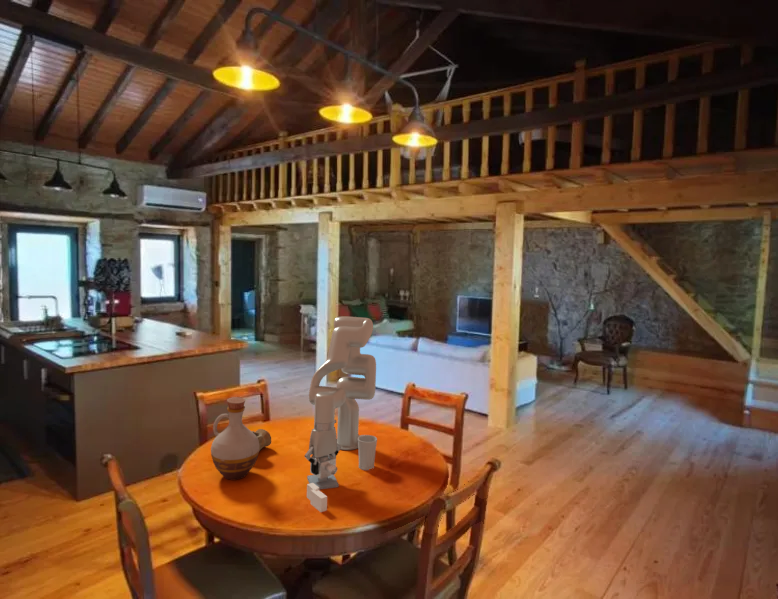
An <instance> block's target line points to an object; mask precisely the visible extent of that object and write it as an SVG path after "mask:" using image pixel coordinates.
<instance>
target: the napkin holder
mask: <svg viewBox="0 0 778 599" xmlns="http://www.w3.org/2000/svg"><path fill="white" fill-rule="evenodd" d="M306 498H307V499H308V500H309V501H310V505H311V506H312V507H313V508H314V509H316V510H317V511H319V513H323V512H327V511H328V496H327V495H326V494H325V493H323V492H322V491H321V490H320V489H319V487H318V486H317V485H315V484H314V483H310V484H309V483H307V484H306Z"/></svg>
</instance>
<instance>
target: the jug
mask: <svg viewBox="0 0 778 599" xmlns="http://www.w3.org/2000/svg"><path fill="white" fill-rule="evenodd" d="M245 402H246V399H245V398H243V397H240V396H239V397H238V396H237V397H236V396H235V397H234V396H232V397H229V398H227V399H226V403H227V406H226V410H227V412H228V413H221V414H219V415H218V416H217V417H216V418H215V420H214V422H213V426H212V429H213V434H214V436H215V438H214V439H213V441H212V443H211V447H210V455H211V459H212V462H213V465H214V467H215V469H216V470H217V471H218V472H219V474H221V475H222V477H224V478H225V479H226V480H229V481H230V480H232V481H234V480H235V481H237V480H240V479H244V478H245V477H246V476H247V474H248V473H249V472H250V471H251V470H252V469H253V467H254V466H255V465H256V462H257V460H258V456H259V454H260V453H259V452H260V451H259V446H260V445H259V440H258V438H257V437H256V435H255V434H254V433H253V432H252V431H253V430H250V429H249V428H248V427H247V426H245V424H243V413H244V411H245V408H246V406H245ZM224 418H227V419H228V425H227V426H226V427H225V428H224V429H223V430H222V431H221V432H218V424H219V422H220V421H221V419H224Z"/></svg>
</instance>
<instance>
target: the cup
mask: <svg viewBox="0 0 778 599" xmlns="http://www.w3.org/2000/svg"><path fill="white" fill-rule="evenodd" d="M361 435H362V436H359V437H358V448H357V449H358V450H357V451H358V453H357V454H358V468H359V469H360V470H362V471H370V470H369V469H372V468H373V469H374V468H375V459H376V452H377V451H376V449H377V445H378V444H377V443H378V438H377V437H376V436H375V435H370V434H361ZM373 469H372V470H373Z"/></svg>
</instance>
